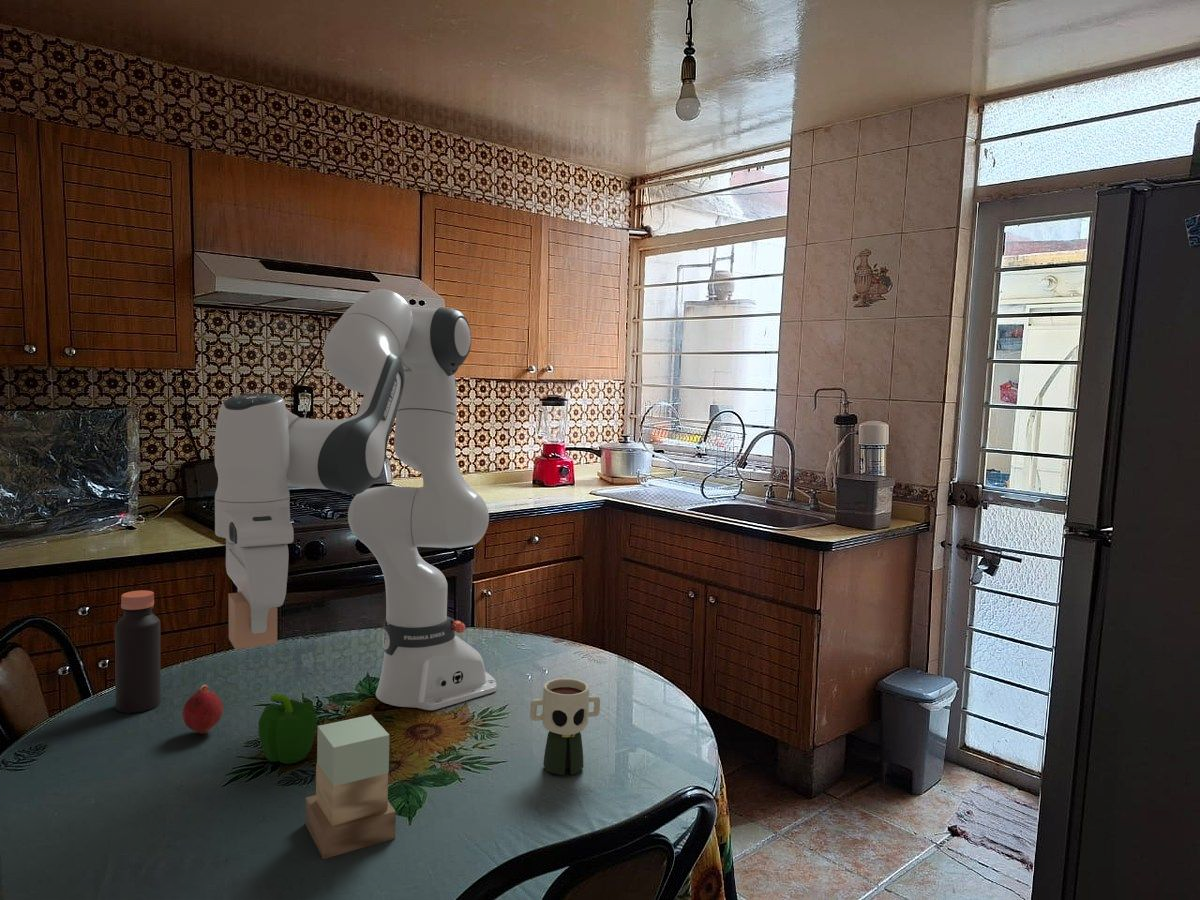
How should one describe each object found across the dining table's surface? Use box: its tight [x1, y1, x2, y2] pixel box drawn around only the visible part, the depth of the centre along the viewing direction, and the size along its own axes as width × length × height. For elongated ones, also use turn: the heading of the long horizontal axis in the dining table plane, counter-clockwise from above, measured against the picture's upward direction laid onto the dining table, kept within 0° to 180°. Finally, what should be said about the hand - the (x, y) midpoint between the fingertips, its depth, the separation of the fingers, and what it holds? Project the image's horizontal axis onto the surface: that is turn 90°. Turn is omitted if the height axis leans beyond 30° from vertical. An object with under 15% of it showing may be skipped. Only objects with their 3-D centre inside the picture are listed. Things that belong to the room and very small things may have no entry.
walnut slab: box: [304, 794, 397, 860], centre depth 102 cm, size 9×9×4 cm
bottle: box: [114, 589, 162, 714], centre depth 137 cm, size 7×7×20 cm
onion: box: [182, 684, 224, 735], centre depth 128 cm, size 6×6×8 cm
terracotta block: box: [228, 591, 278, 651], centre depth 102 cm, size 5×5×6 cm
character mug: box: [529, 677, 601, 776], centre depth 121 cm, size 11×7×13 cm, turn 105°
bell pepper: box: [257, 693, 318, 765], centre depth 121 cm, size 8×8×10 cm
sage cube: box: [316, 714, 390, 787], centre depth 101 cm, size 7×7×5 cm
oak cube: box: [315, 763, 389, 826], centre depth 101 cm, size 7×7×5 cm
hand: (253, 624), depth 103 cm, fingers closed on terracotta block, 5 cm apart
